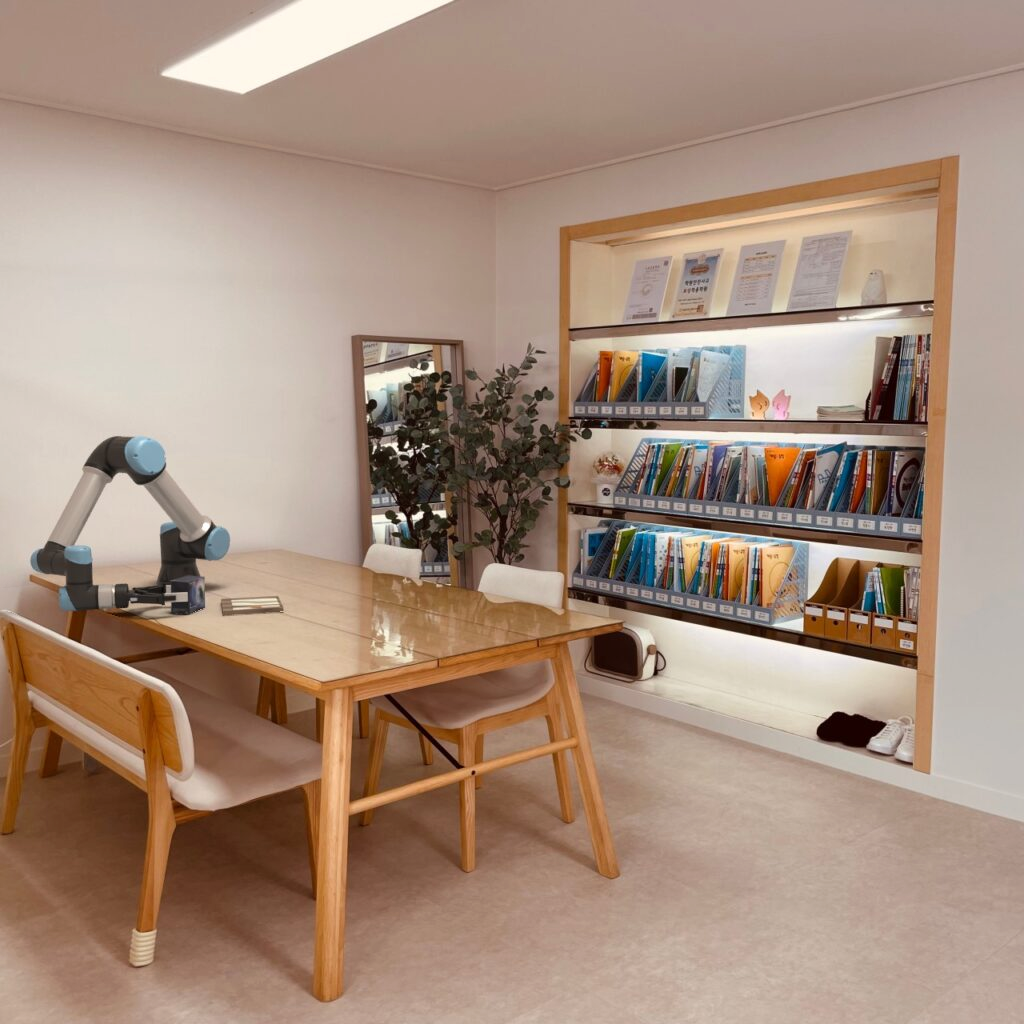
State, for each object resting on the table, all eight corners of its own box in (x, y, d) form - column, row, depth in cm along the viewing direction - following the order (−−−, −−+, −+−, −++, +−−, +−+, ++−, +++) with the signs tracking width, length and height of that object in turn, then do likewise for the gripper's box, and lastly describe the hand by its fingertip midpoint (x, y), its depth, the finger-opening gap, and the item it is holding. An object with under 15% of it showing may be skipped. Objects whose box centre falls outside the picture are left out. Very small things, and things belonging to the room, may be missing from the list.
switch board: (221, 603, 338) (220, 597, 337) (278, 600, 343) (278, 594, 343) (223, 615, 319) (223, 609, 318) (283, 612, 324) (283, 606, 324)
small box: (189, 615, 319) (188, 581, 318) (170, 614, 321) (169, 580, 320) (206, 608, 330) (205, 575, 329) (187, 607, 331) (186, 574, 330)
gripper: (117, 600, 330) (188, 597, 336) (112, 616, 307) (187, 612, 313) (116, 577, 330) (187, 574, 336) (111, 591, 306) (187, 587, 312)
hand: (187, 592), depth 324 cm, fingers open, 13 cm apart
